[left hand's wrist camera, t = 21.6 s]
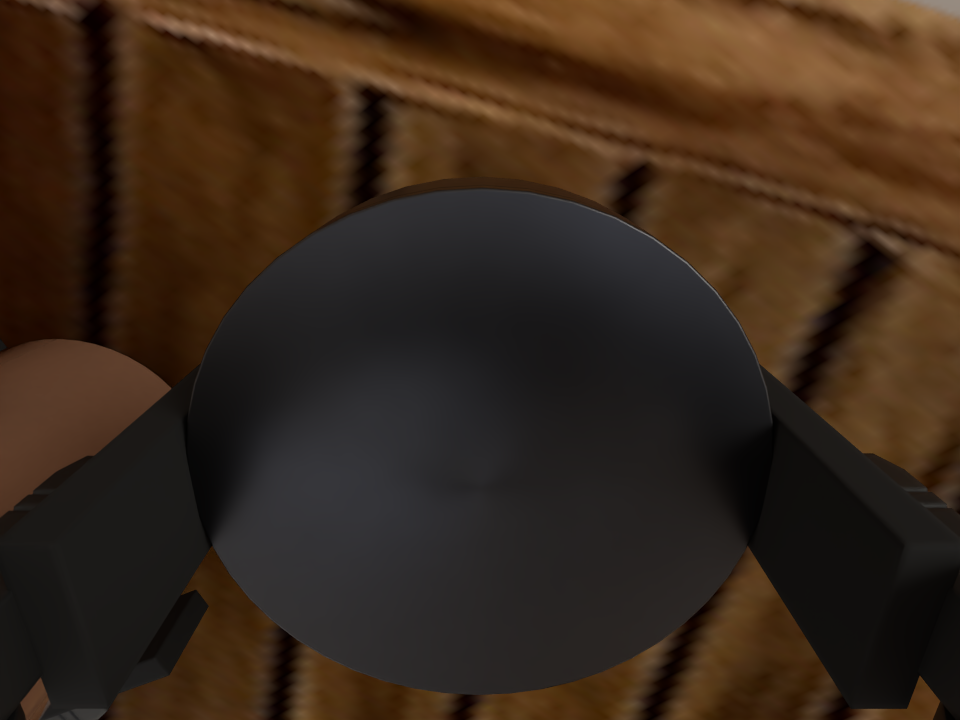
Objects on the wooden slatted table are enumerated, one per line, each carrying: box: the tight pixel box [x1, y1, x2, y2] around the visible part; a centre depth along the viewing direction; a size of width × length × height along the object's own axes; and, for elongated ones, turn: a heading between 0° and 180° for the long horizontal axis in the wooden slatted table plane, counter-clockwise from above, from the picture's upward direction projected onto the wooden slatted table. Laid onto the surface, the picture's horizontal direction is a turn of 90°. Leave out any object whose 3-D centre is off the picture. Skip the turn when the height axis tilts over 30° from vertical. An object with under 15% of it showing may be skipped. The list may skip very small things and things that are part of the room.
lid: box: [187, 177, 773, 695], centre depth 11 cm, size 10×10×2 cm
